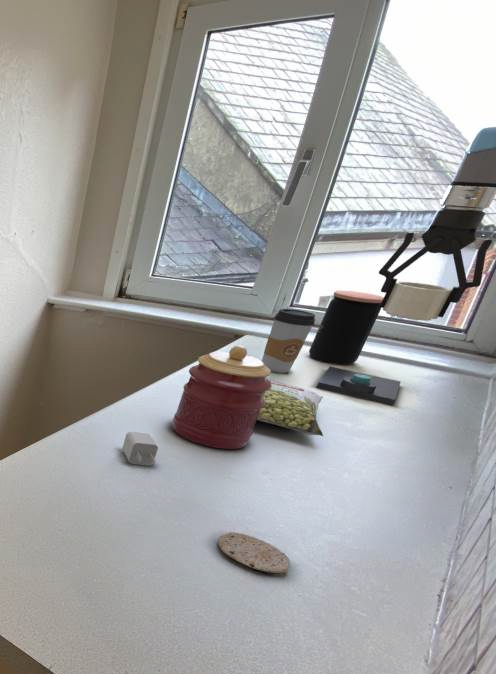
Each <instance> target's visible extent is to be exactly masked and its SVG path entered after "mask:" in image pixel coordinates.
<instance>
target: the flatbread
mask: <svg viewBox="0 0 496 674" xmlns="http://www.w3.org/2000/svg"><path fill="white" fill-rule="evenodd" d="M217 542H218V545H219V547H220V550H221V551H222V553H223V554H225V555H226V556H227V557H229V558H231V559H233V560H234V561H236V562H238V563H240V564H242V565H243V566H246V567H249V568H251V569H254V570H257V571H261V572H264V573H265V572H266V573H273V574H274V573H275V574H286V573H288V572H289V567H290V565H291V564H290V558H289V556H288V555H287V554H286V553H285V552H283V551H281V550H280V549H279V548H277V547H275V546H274V545H272V544H271V543H269V542H266V541H264V540H262V539H259V538H257V537H255V536H251V535H248V534H244V533H239V532H230V531H229V532H227V533H224V534H222V535H221V536H220V537H219V538H218V540H217Z"/></svg>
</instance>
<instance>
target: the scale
mask: <svg viewBox="0 0 496 674" xmlns="http://www.w3.org/2000/svg"><path fill="white" fill-rule="evenodd" d="M354 374H362V375H366V376H369V377H371V380H370V382H369V385H364V384H358V383H355V382H352V381H351V380H352V377H353V375H354ZM400 386H401V381H400V380H395V379H390V378H386V377H381V376H377V375H371V374H367V373H362V372H357V371H353V370H348V369H344V368H339V367H334V366H328V368H327V369H326V371H325V372H324V374H323V375H322V377H321V378H320V379H319V381H318V382H317V384H316V388H317V389H320V390H325V391H330V392H334V393H338V394H342V395H345V396H351V397H355V398H358V399H359V398H360V399H362V400H363V399H364V400H368V401H372V402H376V403H381V404H385V405H389V406H394V404H395V402H396V399H397V397H398V393H399V389H400Z"/></svg>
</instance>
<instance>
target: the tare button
mask: <svg viewBox="0 0 496 674" xmlns="http://www.w3.org/2000/svg"><path fill="white" fill-rule="evenodd" d="M370 380H371V377H369V376H366V375H362V374H354V375H353V377H352V380H351V381H352V382H355V383H358V384H364V385H369V382H370Z"/></svg>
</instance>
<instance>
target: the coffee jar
mask: <svg viewBox="0 0 496 674" xmlns="http://www.w3.org/2000/svg"><path fill="white" fill-rule="evenodd" d="M383 298H384V296H382V295H377V294H373V293H368V292H362V291H353V290H335V291H334V292H333V298H332V299H331V300H330V301H329V303H328V305H327V308H326V310H325V313H324V315H323V317H322V320H321V322H320V324H319V326H318V329H317V332H316V334H315V336H314V338H313V341H312V343H311V345H310V348H309V350H308V353H309V356H310V358H312V359H313V360H316V361H318V362H322V363H327V364H333V365H337V366H338V365H340V366H351V365H352V364H354V363H356V362H357V361H358V359H359V357H360V355H361V352H362V351H363V348H364V346H365V344H366V342H367V340H368V338H369V336H370V334H371V331H372V329H373V327H374V325H375V324H376V320H377V318H378V316H379V314H380V312H381V310H382V308H380V305H381V302H382V300H383Z"/></svg>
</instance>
